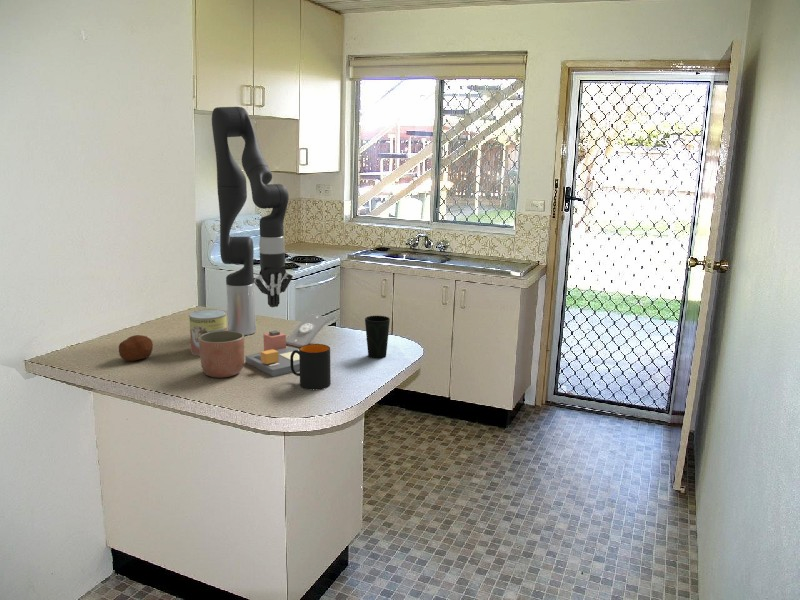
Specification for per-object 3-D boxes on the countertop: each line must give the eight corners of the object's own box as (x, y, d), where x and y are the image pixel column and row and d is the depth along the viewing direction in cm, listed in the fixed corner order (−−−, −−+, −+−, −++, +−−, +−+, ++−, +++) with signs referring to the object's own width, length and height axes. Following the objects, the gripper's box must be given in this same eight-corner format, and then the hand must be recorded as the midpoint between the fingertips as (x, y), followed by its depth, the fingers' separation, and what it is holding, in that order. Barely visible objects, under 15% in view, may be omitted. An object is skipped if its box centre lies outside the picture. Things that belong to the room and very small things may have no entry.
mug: (299, 375, 190) (298, 340, 188) (336, 382, 185) (335, 346, 183) (282, 384, 183) (281, 348, 180) (320, 391, 178) (319, 354, 176)
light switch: (282, 339, 219) (308, 311, 228) (289, 352, 223) (314, 324, 232) (302, 343, 215) (327, 315, 224) (308, 357, 218) (333, 328, 227)
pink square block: (264, 352, 211) (263, 331, 210) (278, 349, 214) (277, 328, 213) (272, 356, 208) (271, 335, 206) (286, 353, 211) (285, 332, 209)
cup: (359, 355, 209) (359, 318, 206) (377, 350, 214) (377, 314, 212) (377, 361, 204) (377, 323, 201) (394, 356, 209) (395, 318, 206)
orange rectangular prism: (261, 361, 194) (260, 351, 194) (273, 359, 197) (273, 349, 196) (266, 364, 192) (265, 354, 191) (278, 361, 195) (278, 351, 194)
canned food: (183, 354, 208) (181, 316, 206) (203, 344, 219) (201, 308, 216) (216, 357, 205) (214, 319, 203) (234, 347, 216) (233, 311, 213)
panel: (245, 362, 201) (245, 355, 200) (292, 352, 211) (291, 346, 210) (272, 376, 189) (272, 369, 188) (320, 365, 199) (320, 358, 199)
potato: (112, 361, 200) (110, 337, 198) (141, 352, 209) (139, 329, 208) (131, 366, 196) (129, 341, 194) (160, 357, 205) (159, 333, 204)
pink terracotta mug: (223, 363, 200) (221, 328, 197) (254, 371, 194) (253, 334, 191) (190, 375, 189) (188, 338, 187) (223, 383, 183) (221, 345, 181)
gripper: (258, 254, 197) (260, 312, 201) (297, 250, 205) (298, 305, 209) (246, 251, 202) (248, 307, 206) (285, 247, 211) (286, 301, 215)
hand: (273, 306), depth 208 cm, fingers closed
